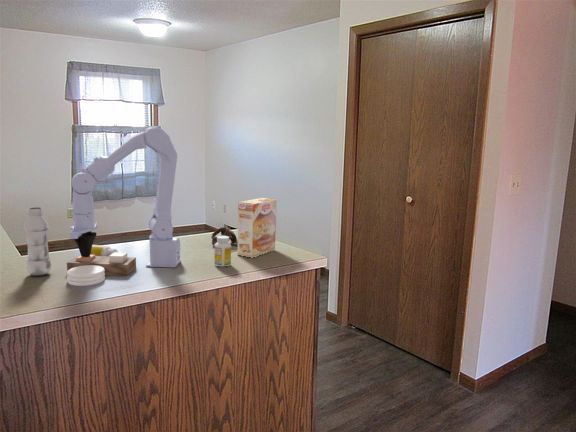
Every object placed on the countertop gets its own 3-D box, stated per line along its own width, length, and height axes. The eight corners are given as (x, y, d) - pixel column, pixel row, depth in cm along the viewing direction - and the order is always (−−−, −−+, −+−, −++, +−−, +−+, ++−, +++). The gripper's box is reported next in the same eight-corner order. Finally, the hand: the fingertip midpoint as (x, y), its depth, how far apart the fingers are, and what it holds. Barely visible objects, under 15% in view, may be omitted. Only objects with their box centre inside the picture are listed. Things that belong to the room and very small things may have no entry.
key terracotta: (95, 264, 144) (95, 254, 143) (90, 267, 140) (89, 258, 139) (82, 263, 144) (82, 254, 143) (76, 267, 140) (76, 257, 139)
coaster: (94, 273, 140) (93, 262, 140) (111, 281, 134) (111, 269, 133) (61, 281, 133) (60, 269, 132) (77, 289, 126) (77, 277, 126)
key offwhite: (127, 262, 144) (127, 252, 143) (122, 265, 140) (122, 256, 139) (114, 261, 144) (114, 252, 143) (109, 265, 140) (109, 255, 139)
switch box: (136, 268, 146) (135, 257, 146) (127, 276, 138) (126, 264, 138) (79, 266, 146) (78, 255, 146) (67, 273, 138) (66, 262, 138)
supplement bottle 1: (84, 263, 151) (111, 265, 149) (81, 247, 149) (109, 250, 147) (94, 257, 156) (120, 259, 154) (92, 242, 154) (118, 244, 152)
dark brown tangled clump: (240, 249, 175) (230, 232, 171) (217, 259, 175) (207, 242, 172) (239, 235, 185) (230, 218, 182) (218, 244, 186) (208, 228, 182)
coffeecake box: (252, 259, 161) (253, 203, 157) (236, 255, 165) (237, 201, 161) (276, 250, 174) (277, 199, 170) (260, 247, 177) (261, 197, 174)
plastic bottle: (35, 279, 132) (30, 211, 129) (22, 275, 136) (17, 208, 132) (56, 274, 138) (52, 208, 134) (43, 269, 141) (39, 205, 138)
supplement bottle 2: (214, 267, 149) (214, 238, 148) (214, 263, 155) (214, 235, 153) (231, 267, 150) (231, 238, 149) (230, 262, 156) (230, 235, 154)
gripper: (81, 208, 146) (83, 249, 149) (58, 216, 132) (61, 262, 134) (103, 209, 146) (105, 250, 149) (83, 217, 132) (85, 263, 134)
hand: (85, 256), depth 141 cm, fingers closed, pressing on key terracotta
